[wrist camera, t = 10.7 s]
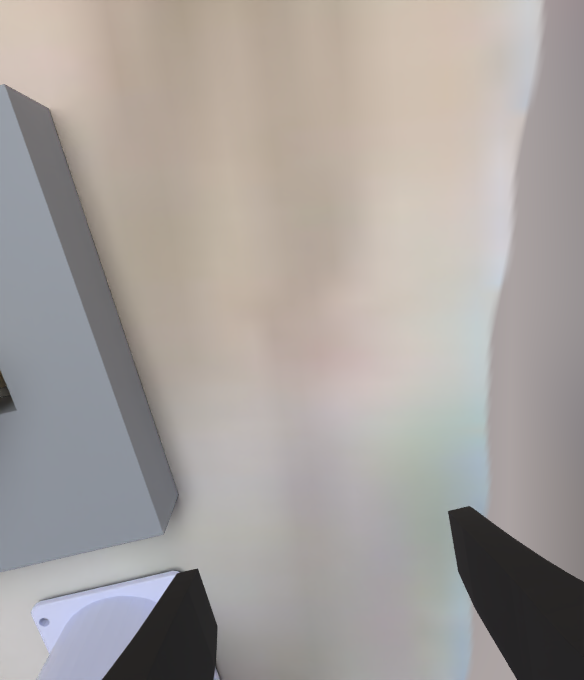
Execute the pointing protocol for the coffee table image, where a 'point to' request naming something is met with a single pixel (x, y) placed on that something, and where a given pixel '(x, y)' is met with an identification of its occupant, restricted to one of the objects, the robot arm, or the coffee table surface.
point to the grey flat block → (64, 369)
